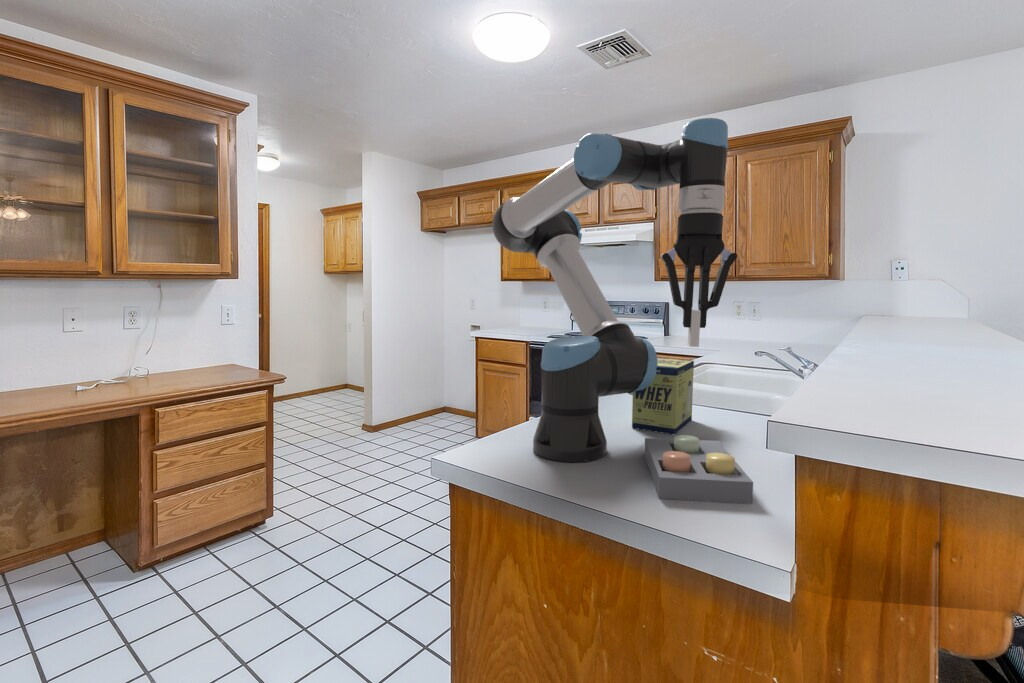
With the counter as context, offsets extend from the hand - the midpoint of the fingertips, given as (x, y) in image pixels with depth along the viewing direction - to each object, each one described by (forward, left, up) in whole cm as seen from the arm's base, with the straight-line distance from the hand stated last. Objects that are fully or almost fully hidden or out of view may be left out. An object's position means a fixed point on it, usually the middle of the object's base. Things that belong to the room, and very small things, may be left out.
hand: (693, 345), depth 91 cm
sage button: (-1, 0, -21) cm, 21 cm away
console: (-1, -5, -23) cm, 23 cm away
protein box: (-1, +30, -23) cm, 38 cm away
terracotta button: (-4, -10, -21) cm, 23 cm away
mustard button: (+3, -10, -21) cm, 23 cm away
